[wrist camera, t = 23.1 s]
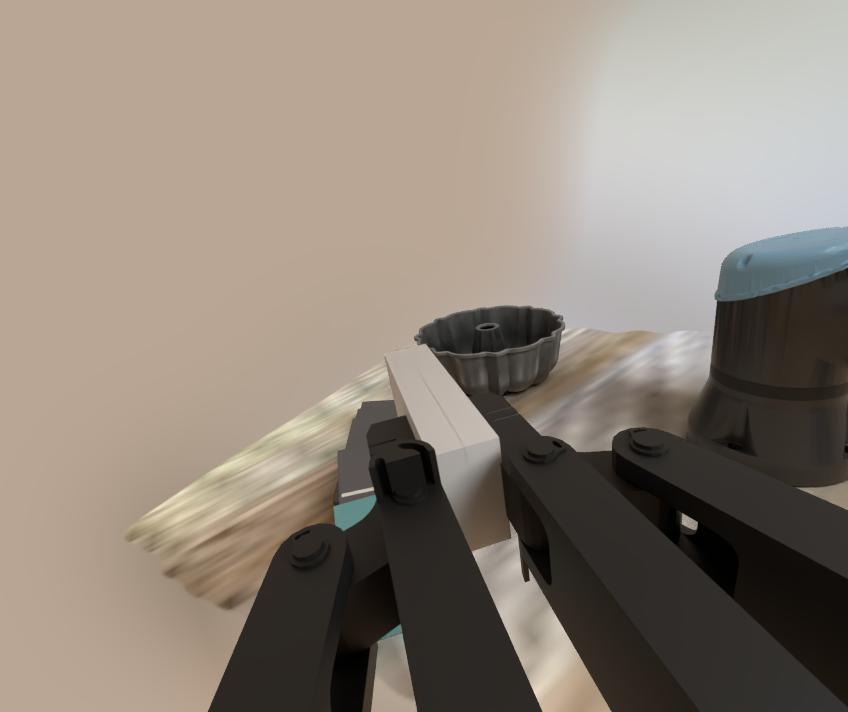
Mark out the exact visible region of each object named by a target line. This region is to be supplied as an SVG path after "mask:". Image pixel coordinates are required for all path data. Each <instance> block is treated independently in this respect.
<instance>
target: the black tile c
mask: <svg viewBox="0 0 848 712" xmlns="http://www.w3.org/2000/svg"><path fill="white" fill-rule="evenodd" d="M378 417H398V415H397V410H396V406H395V401H394V400H386V401H369V402H362V406H361V410H360V415H359V418H378Z"/></svg>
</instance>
